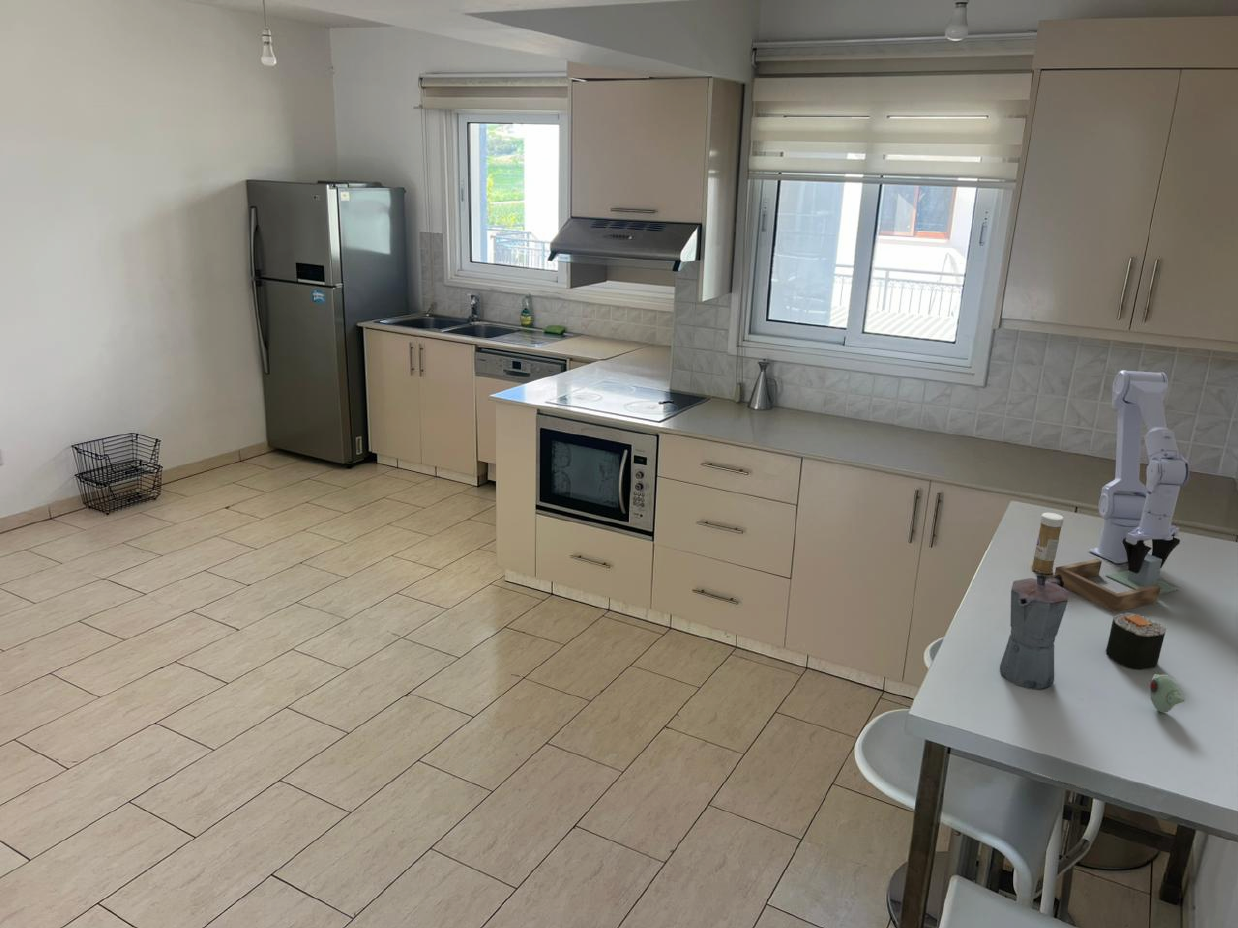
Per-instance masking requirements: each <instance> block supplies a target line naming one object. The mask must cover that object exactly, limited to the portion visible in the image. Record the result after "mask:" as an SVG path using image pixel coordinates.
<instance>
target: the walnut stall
mask: <svg viewBox="0 0 1238 928" xmlns="http://www.w3.org/2000/svg"><path fill="white" fill-rule="evenodd" d="M1102 561H1103V560H1101V559H1098V558H1095V559H1090V560H1086V561H1080V562H1075V563H1072V564H1066V565H1065V564H1064V565H1062V566H1061V565H1060V566H1056V567H1055V571H1054V575H1053V578H1054V577H1055V576H1057V575H1058V574H1060V575H1061V577H1062V581H1063V582H1064V586H1063V588H1064V589H1066V590H1068V591H1071V590H1072V591H1071V592H1073V591H1074V592H1073V593H1075V592H1076V593H1075V594H1077V593H1078V595H1079V596H1082V597H1083V598H1084V599H1085V598H1086V599H1087V600H1089V601H1092V602H1093V603H1096V604H1097V605H1100V606H1101V607H1104V608H1106V609H1108V610H1110V611H1112V612H1114V613H1116V612H1118V613H1119V612H1121V611H1125V610H1129V609H1134V608H1138V607H1142V606H1145V605H1146V606H1147V605H1150V604H1154V603H1157V602H1158V600H1159V593H1160V589H1161V587H1160V586H1158V585H1151V586H1147V587H1143V588H1139V589H1131V590H1127V591H1126V590H1125V591H1121V592H1118V593H1117V592H1115V591H1113V590H1111V589H1109V588H1107V587H1105V586H1102V585H1100V584H1099V583H1096V582H1094V581H1092V580H1090V579H1088V578H1091V577H1096V576H1099V575H1100V572H1101V568H1102V564H1103V563H1102Z"/></svg>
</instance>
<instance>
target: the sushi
mask: <svg viewBox="0 0 1238 928" xmlns="http://www.w3.org/2000/svg"><path fill="white" fill-rule="evenodd" d="M1151 620H1152V619H1151V618H1145V616H1144V615H1142V616H1141V615H1140V614H1138V613H1137V614H1136V613H1133V612H1125V613H1118V614H1116V615H1115V616H1112V622H1111V627H1110V633H1109V637H1108V641H1107V644H1106V649H1105V653H1106V656H1108V657H1109V658H1110V659H1112V660H1113V661H1115V663H1117V664H1119V665H1120V666H1123V667H1125V668H1129V669H1131V670H1132V669H1133V670H1149V669H1153V668H1156V667H1157V666H1158V662H1159V658H1160V655H1161V652H1162V648H1163V647H1162V646H1163V644H1164V643H1163V642H1164V639H1165V635H1166V630H1167V628H1166V627H1165V626H1163V625H1161V622H1156V621H1151Z"/></svg>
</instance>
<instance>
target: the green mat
mask: <svg viewBox="0 0 1238 928" xmlns="http://www.w3.org/2000/svg"><path fill="white" fill-rule="evenodd" d="M1129 572H1130V571H1129V570H1128V569H1127V570H1122V571H1118V572H1114V573H1108V574H1105V577H1107V578H1109V579H1111V580H1113V581H1116V582H1117V583H1120V584H1123V585H1124V586H1126V587H1129V588H1131V589H1132V590H1134V589H1139V588H1143V586H1141V585H1139V584H1136V583H1134V582H1132V581H1130V580H1128V577H1129ZM1155 585H1158V586H1160V587H1161V589H1160V593H1159V595H1164V594H1167V593H1172V592H1175V591H1179V588H1177V587H1175V586H1173V585H1170V584H1168V583H1166V582H1163V581H1161V580H1159V579H1157V583H1156V584H1155Z"/></svg>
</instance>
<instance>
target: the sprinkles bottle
mask: <svg viewBox="0 0 1238 928" xmlns="http://www.w3.org/2000/svg"><path fill="white" fill-rule="evenodd" d="M1064 520H1065V519H1064V517H1063V516H1062V515H1060V514H1058V513H1055V512H1043V513H1042V514H1041V516H1040V527H1039V532H1038V536H1037V540H1036V544H1035V549H1034V556H1033V560H1032V565H1031V569H1032V570H1033V571H1034V572H1035V573H1038V574H1041V575H1045V574H1046V575H1049V574H1050V575H1051V574H1053V571H1054V569H1053V568H1054V564H1055V560H1056V557H1057V551H1058V547H1059V542H1060V536H1061V531H1062V527H1063V525H1064Z"/></svg>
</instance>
